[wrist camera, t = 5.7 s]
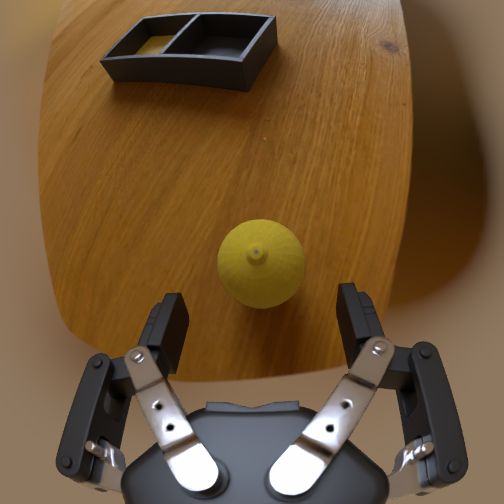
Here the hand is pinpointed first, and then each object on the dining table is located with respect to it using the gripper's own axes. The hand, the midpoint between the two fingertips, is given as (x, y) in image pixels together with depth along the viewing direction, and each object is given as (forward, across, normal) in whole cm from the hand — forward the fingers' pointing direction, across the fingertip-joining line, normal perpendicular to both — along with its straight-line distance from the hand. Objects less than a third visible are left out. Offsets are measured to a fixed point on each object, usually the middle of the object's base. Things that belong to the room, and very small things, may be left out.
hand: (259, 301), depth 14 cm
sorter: (+26, +8, -16) cm, 32 cm away
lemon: (+7, 0, +4) cm, 8 cm away
